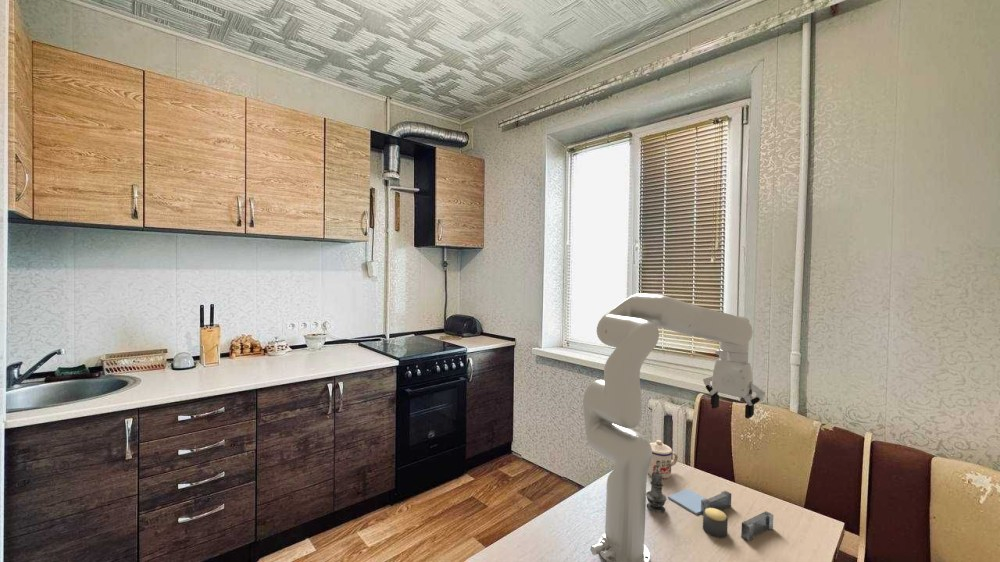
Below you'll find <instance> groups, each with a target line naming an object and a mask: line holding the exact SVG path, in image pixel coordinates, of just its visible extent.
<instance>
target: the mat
mask: <svg viewBox="0 0 1000 562" xmlns="http://www.w3.org/2000/svg"><path fill="white" fill-rule="evenodd" d="M667 499H669V500H671V501H673V502H674V503H676V504H677V505H679V506H681V507H682V508H684V509H686V510H687V511H689V512H690V513H692V514H694V515H695V516H698V515H700V514H701V500H703V499H707V498H706V497H705V496H704V495H701V494H699V493H697V492H695V491H694V490H691V489H690V488H686V489H683V490H681V491H677V492H674V493H673V494H670V495H667Z"/></svg>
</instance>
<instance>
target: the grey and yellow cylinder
mask: <svg viewBox="0 0 1000 562" xmlns="http://www.w3.org/2000/svg"><path fill="white" fill-rule="evenodd" d="M702 515H703V516H702V517H703V518H702V530H703V531H704V532H705V533H706V534H707V535H708V536H712V537H714V538H718V539H724V538H726V537H728V523H729V522H728V521H729V519H728V516H727V515H726V513H725V512H724V511H723V510H722V511H720V510H718V509H715V508H707V509H705V510H704V512H703V514H702Z"/></svg>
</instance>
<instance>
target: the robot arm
mask: <svg viewBox="0 0 1000 562" xmlns="http://www.w3.org/2000/svg"><path fill="white" fill-rule="evenodd" d="M659 328H661V329H664V330H668V331H672V332H676V333H679V334H682V335H687V336H691V337H697V338H703V339H704V340H707V341H711V342H712V341H713V342H718V343H719V349H715V352H714V353H715V355H718V358H716V360H715V363H714V368H713V372H712V376H710V377H709V376H708V377H705V378H703V379H702V381H703V384H704V386H705V389H706V390H707V392H708V394H709V395H710V405H711V409H714V410H715V409H717V408H719V406H720V395H719V394H718V393H720V394H724V395H728V396H732V397H737V398H741V399H743V400H745V402H746V404H745V405H744V406H745V407H744V408H745V409H744V418H745V419H751V418H752V417H753V416H754V414H755V405H756V404H757V403H759V402H761V401H762V399H763V398H764V397H765V395H766V392H765V391H763V390H762V389H760V388H759V386H756V385H755V384H754V383H753V381H754V380H753V372H752V365H751V363H750V362H749V345H750V344H749V343H750V341H751V340H752V338H753V332H754V331H753V327H752V325H751V324H750V320H749V319H748V317H745V316H739V315H734V314H731V313H726V312H723V311H718V310H714V309H710V308H708V307H703V306H700V305H699V306H698V305H695V304H691V303H688V302H685V301H683V300H680V299H677V298H673V297H670V296H668V295H664V294H652V293H651V294H650V293H635V294H633V295H630V296H629V297H627V298H626V299H624V300H623V301H621V302H620V303H619V304H617V305H616V306H615V307H614V308H612V309H611V310H609V311H607V313H605V314H604V315H603V316H602V317H601V318H600V320H599V321H598V323H597V326H596V335H597V338H598V340H599V341H600V342H601V343H603V344H604V345H607V346H608V347H613V348H615V349H614V350H613V351H612V352H611V354H609V357H608V358H607V359H606V362H605V365H604V367H603V376H604V377H603V379H597V380H594V381H592V382H590V383H589V384H588V385H587V387H586V388H585V391H584V394H583V399H582V409H583V418H584V419H583V420H584V425H585V426H584V429H585V436H586V441H587V444H588V446H589V447H590V448H591V449H592V450H593V451H594V452H595V453H596V454H598V455H600V456H601V457H603V458H605V460H608V461H609V462H611V463H612V464H613V469H612V471H611V472H610V473H609V474H608V475H607V480H606V495H605V496H606V501H605V525H604V527H605V529H604V530H605V531H604V532H605V533H604V534H602V535H601V538H599V541H598V543H596V544H594V545H591V546H590V551H591V554H592V555H594V556H596V555H598V554H600V556H601V558H603V560H604V561H606V562H651V553H650V550H649V548H648V547H647V546H646V544H645V534H646V533H645V532H646V531H645V530H646V527H645V526H646V508H647V503H646V502H647V501H646V500H647V496H646V493H647V482H648V475H649V474H648V470H649V466H650V462H651V458H652V448H651V445H650V443H651V442H650V441H649V440H648V439H647V438H646V436H644V435H643V434H642V433H640V432H638V431H636V430H634V428H636V427H638V426H639V425H640V424H641V421H642V416H643V406H642V405H643V403H642V393H641V380H640V378H641V376H640V375H641V369H642V366H643V364H644V362H645V361H646V359H647V358H648V356H649V355H650V354H651V352H652V351H653V350H654V349H655V347H656V346H657V344H658V342H659V337H660V331H659ZM753 392H754V393H755V394H756V396H755V397H753V396H752V395H753Z"/></svg>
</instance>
